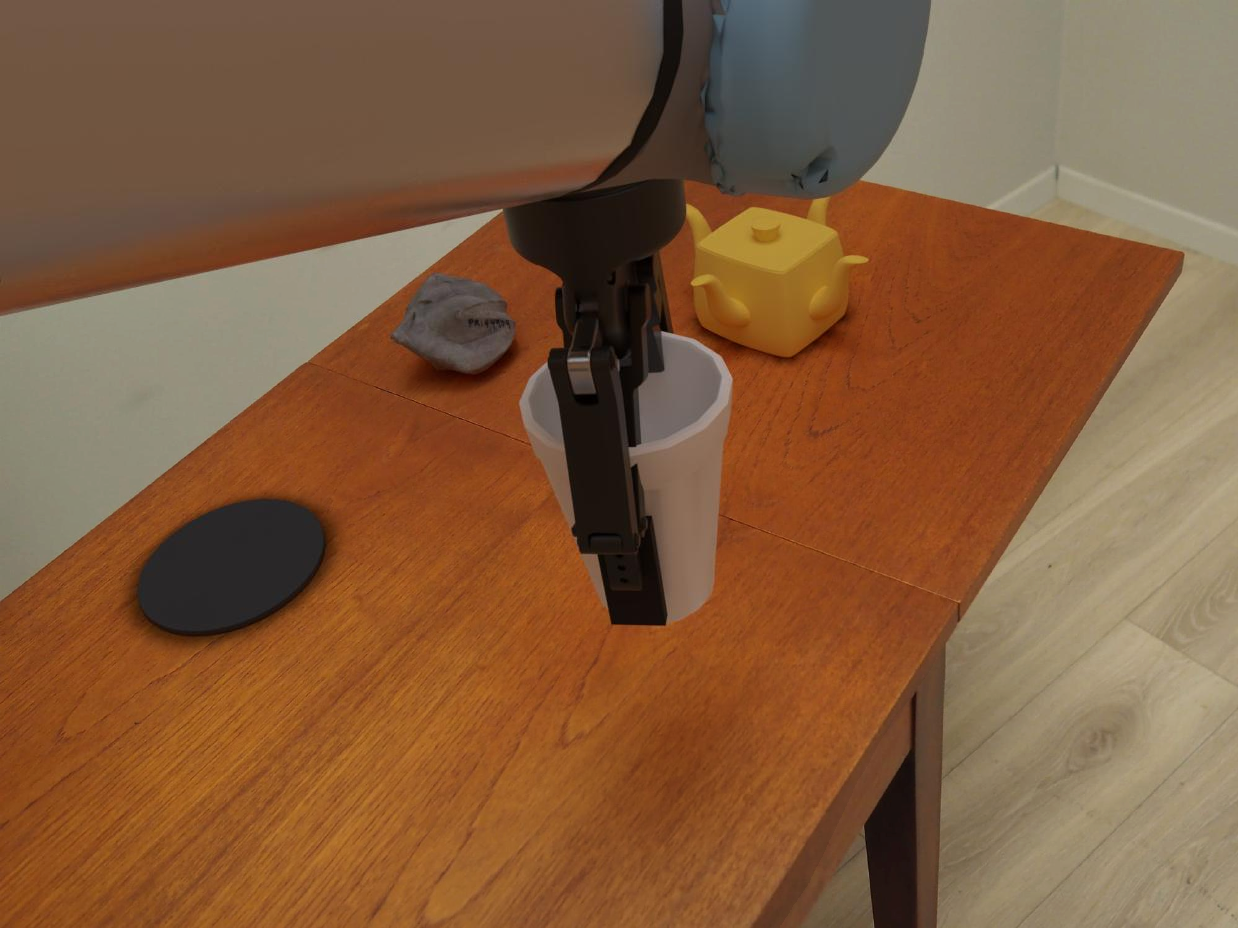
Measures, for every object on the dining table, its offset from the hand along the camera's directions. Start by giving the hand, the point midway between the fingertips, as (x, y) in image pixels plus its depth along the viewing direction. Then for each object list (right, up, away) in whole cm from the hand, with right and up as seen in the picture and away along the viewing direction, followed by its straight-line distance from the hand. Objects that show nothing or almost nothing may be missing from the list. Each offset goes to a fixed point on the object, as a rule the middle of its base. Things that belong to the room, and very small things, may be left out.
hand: (651, 555), depth 61 cm
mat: (-31, -3, +27) cm, 41 cm away
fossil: (-16, +14, +44) cm, 49 cm away
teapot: (+12, +17, +42) cm, 47 cm away
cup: (0, -2, +2) cm, 3 cm away
